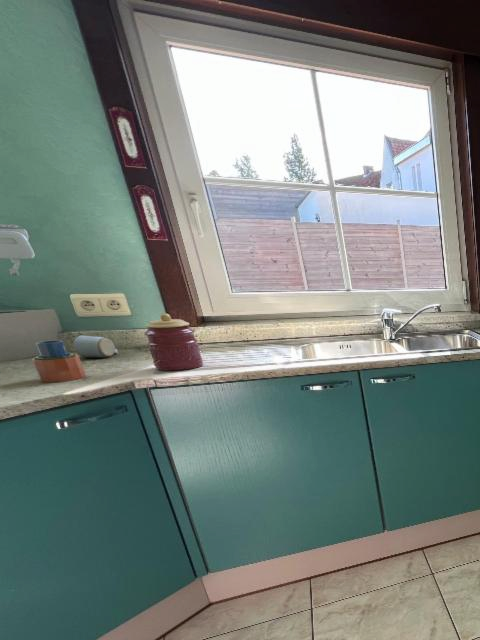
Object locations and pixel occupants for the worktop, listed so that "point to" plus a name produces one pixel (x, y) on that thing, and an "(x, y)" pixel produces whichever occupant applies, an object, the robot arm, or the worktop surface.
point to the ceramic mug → (94, 347)
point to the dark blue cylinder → (51, 349)
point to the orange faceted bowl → (59, 368)
